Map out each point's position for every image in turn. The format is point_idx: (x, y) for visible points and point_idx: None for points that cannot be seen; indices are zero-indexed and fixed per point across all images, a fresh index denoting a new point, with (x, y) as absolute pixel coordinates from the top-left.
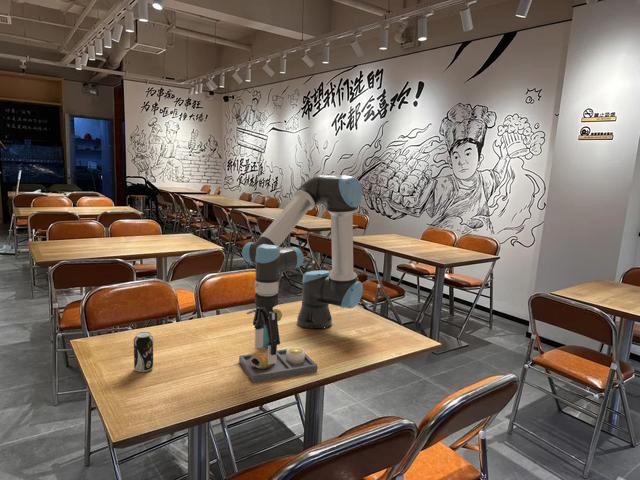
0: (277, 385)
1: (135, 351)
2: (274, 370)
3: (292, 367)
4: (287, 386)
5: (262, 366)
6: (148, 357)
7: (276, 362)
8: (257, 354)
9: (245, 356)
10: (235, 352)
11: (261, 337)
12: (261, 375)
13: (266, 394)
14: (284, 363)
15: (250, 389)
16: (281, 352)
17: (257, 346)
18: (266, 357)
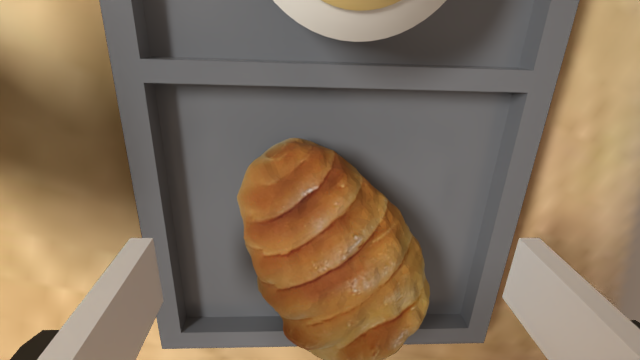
0: (572, 210)
1: None
2: (441, 189)
3: (466, 35)
4: (623, 162)
5: (428, 287)
6: None
7: (542, 241)
8: (336, 337)
9: (179, 316)
10: (10, 303)
11: (104, 334)
12: (491, 296)
13: (614, 288)
14: (399, 88)
15: (521, 336)
16: (138, 7)
17: (156, 296)
18: (388, 272)
